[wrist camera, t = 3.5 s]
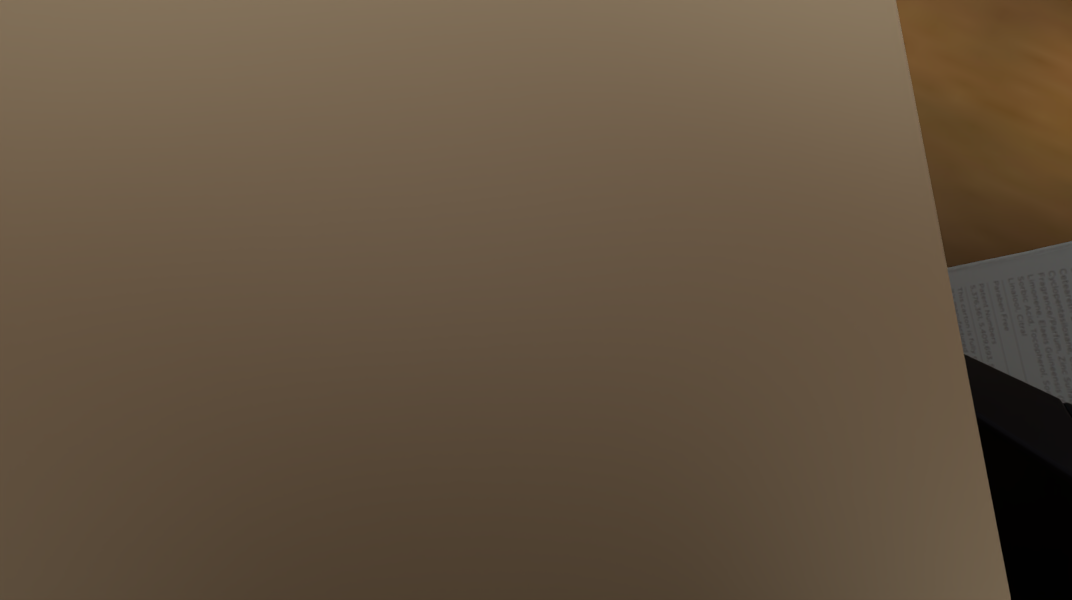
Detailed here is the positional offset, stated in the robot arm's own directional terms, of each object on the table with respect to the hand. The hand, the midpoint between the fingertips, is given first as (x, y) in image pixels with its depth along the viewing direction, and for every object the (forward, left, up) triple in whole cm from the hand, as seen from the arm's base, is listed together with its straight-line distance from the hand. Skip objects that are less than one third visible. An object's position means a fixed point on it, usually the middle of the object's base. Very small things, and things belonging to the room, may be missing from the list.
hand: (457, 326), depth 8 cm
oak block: (-1, -1, -7) cm, 7 cm away
